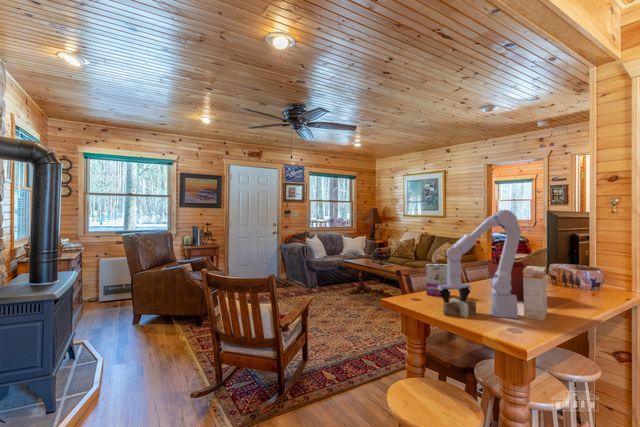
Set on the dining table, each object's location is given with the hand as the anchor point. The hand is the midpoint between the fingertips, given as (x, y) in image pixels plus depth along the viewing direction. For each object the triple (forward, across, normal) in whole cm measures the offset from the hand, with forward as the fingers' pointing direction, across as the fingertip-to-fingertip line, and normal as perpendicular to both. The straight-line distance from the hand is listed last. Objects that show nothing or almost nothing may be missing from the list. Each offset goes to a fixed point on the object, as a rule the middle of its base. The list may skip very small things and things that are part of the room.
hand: (454, 305), depth 143 cm
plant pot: (+3, -44, -16) cm, 47 cm away
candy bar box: (+3, -9, -30) cm, 32 cm away
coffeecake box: (+3, -30, +12) cm, 32 cm away
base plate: (+3, 0, +4) cm, 4 cm away
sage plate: (+3, 0, +3) cm, 4 cm away
